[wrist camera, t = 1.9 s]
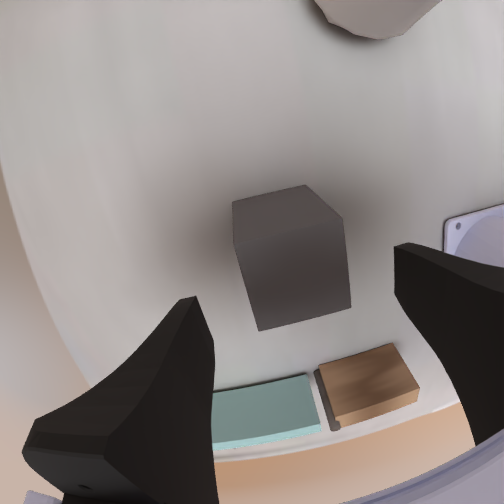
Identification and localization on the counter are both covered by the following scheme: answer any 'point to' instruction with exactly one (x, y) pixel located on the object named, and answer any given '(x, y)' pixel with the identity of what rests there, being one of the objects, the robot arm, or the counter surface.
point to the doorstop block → (291, 256)
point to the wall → (365, 386)
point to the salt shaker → (375, 15)
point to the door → (263, 414)
